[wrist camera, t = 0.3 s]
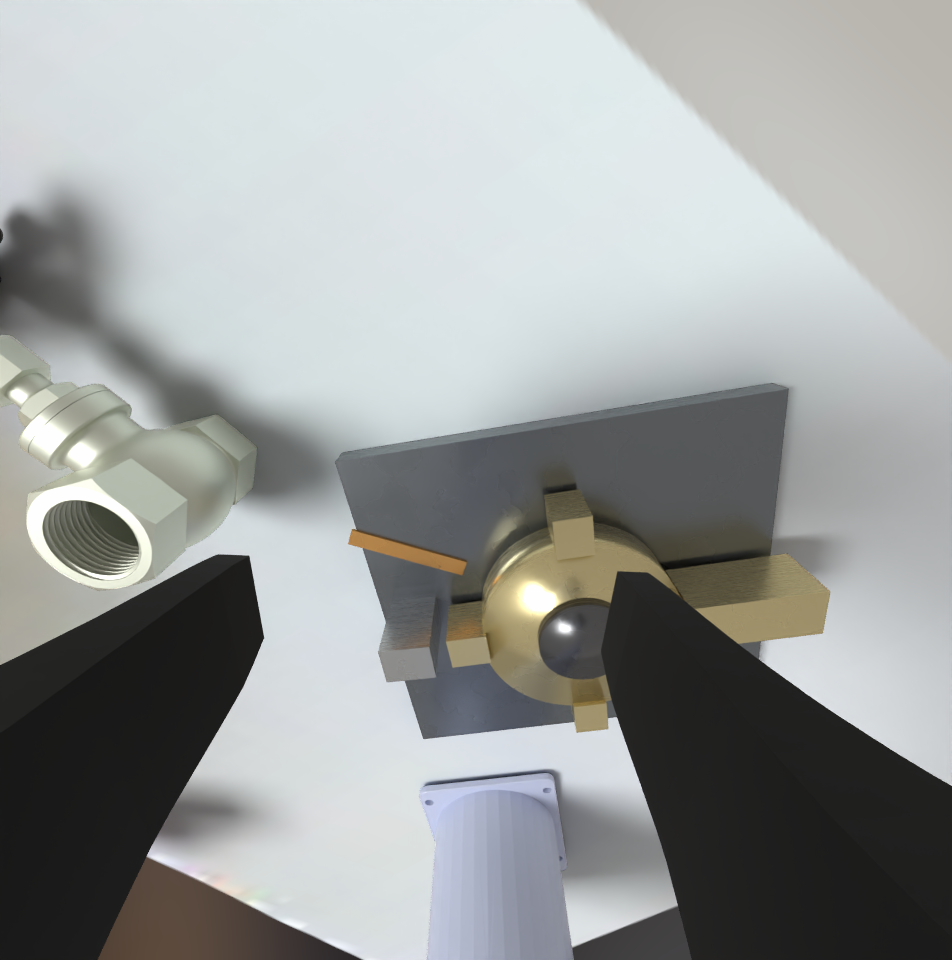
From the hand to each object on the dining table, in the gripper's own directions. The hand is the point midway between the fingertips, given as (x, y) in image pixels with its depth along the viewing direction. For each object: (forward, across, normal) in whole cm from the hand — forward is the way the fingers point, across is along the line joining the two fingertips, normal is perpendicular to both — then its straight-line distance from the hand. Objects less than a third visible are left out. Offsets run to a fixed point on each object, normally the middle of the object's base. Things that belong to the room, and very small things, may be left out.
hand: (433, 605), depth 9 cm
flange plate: (+10, -5, +7) cm, 13 cm away
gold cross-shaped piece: (+9, -7, +6) cm, 13 cm away
